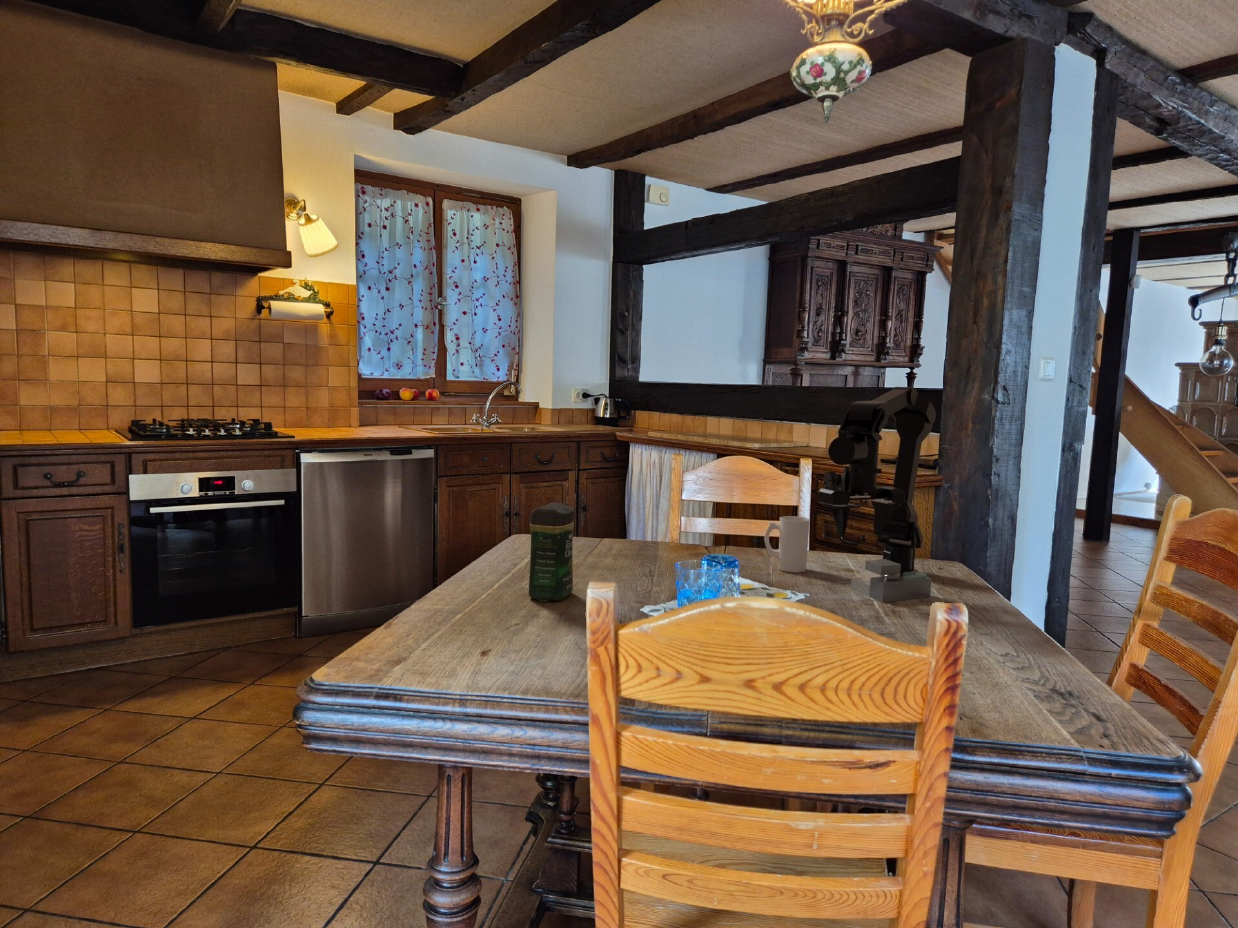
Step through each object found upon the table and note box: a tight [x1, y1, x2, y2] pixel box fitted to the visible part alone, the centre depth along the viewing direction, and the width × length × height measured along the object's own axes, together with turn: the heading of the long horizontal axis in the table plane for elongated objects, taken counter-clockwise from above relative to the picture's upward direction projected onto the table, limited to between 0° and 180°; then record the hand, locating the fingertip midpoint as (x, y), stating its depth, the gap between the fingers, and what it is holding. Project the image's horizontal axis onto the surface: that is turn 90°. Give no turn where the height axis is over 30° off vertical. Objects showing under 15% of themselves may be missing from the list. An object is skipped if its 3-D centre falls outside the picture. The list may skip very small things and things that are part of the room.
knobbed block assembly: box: [850, 570, 932, 603], centre depth 159 cm, size 11×12×5 cm
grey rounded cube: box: [863, 558, 901, 583], centre depth 161 cm, size 5×5×6 cm
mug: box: [764, 515, 811, 574], centre depth 177 cm, size 10×7×12 cm, turn 78°
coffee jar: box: [528, 502, 575, 602], centre depth 151 cm, size 10×8×19 cm
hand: (858, 535), depth 161 cm, fingers open, 9 cm apart
